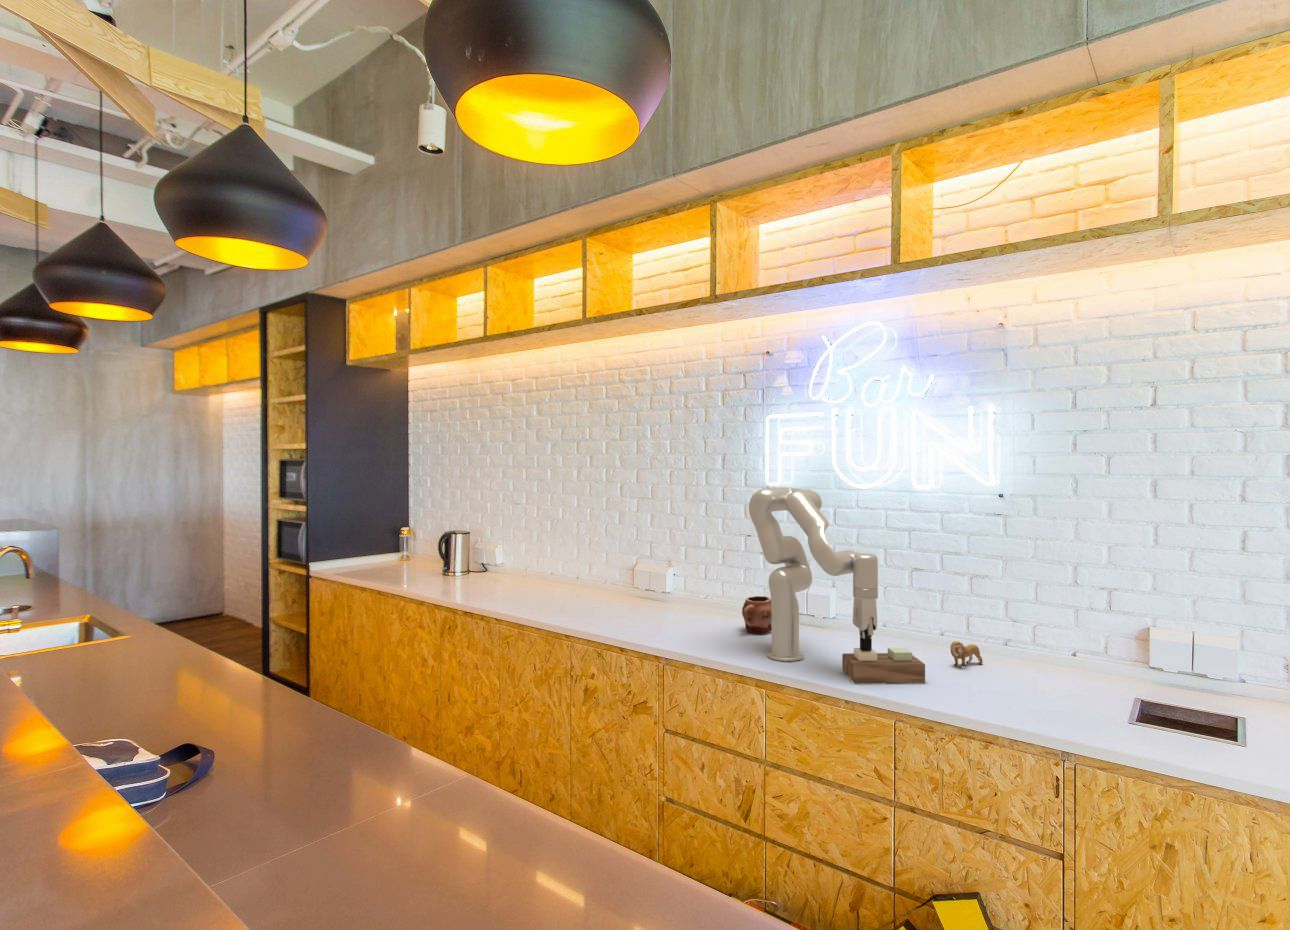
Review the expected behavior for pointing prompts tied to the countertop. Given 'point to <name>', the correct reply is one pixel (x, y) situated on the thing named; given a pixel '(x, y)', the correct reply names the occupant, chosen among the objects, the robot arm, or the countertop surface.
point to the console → (883, 670)
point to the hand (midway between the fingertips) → (865, 650)
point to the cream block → (865, 655)
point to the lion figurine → (964, 652)
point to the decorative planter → (757, 614)
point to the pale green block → (900, 654)
